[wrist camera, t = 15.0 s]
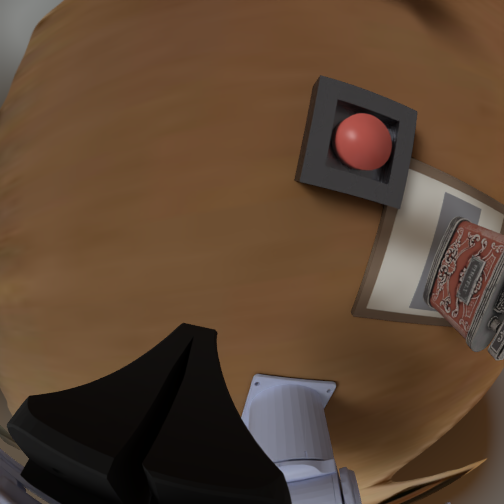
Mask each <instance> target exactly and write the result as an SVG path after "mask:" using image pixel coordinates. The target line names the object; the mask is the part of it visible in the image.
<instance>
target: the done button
mask: <svg viewBox="0 0 504 504" xmlns="http://www.w3.org/2000/svg"><path fill="white" fill-rule="evenodd" d="M332 146H333V150H334V152H335V154H336V156H337V158H338V159H339V160H340V161H341V162H342V163H343V164H344V165H345V166H347V167H349V168H352V169H355V170H375V169H378V168H380V167H381V166H383V165H384V164H385V163H386V162H387V160H388V158H389V156H390V154H391V149H392V141H391V136H390V133H389V131H388V129H387V128H386V126H385V125H384V124H383V123H382V122H381V121H380V120H379V119H378V118H376V117H375V116H372V115H370V114H365V113H359V114H355V115H352V116H350V117H348V118H346V119H345V120H343V121H341V122H340V123H339V124H338V125H337V126H336V128H335V130H334V132H333V135H332Z"/></svg>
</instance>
